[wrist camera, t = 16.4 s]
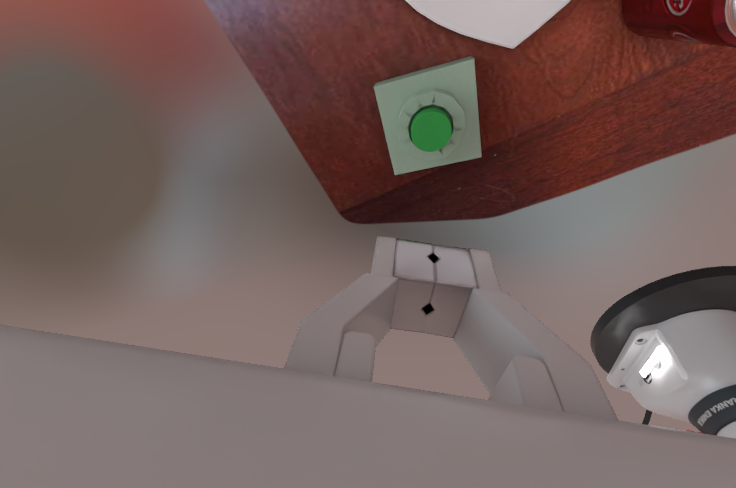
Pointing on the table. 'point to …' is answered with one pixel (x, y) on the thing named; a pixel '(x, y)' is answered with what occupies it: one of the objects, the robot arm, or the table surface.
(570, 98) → the table surface
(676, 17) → the soda can
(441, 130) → the button
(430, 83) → the block
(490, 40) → the plate
